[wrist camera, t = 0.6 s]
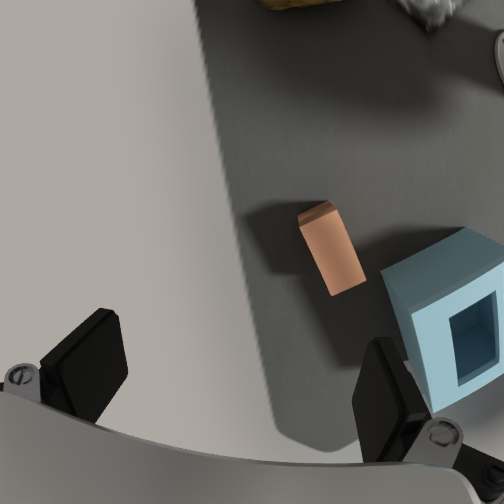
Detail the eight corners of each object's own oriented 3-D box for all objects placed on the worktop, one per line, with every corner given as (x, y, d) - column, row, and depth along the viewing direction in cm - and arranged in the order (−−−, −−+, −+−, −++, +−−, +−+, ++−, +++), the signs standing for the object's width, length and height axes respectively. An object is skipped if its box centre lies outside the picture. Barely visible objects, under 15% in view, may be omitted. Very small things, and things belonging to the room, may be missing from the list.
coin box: (465, 227, 29) (517, 252, 19) (482, 320, 32) (520, 361, 22) (380, 271, 32) (411, 314, 22) (408, 360, 35) (433, 413, 25)
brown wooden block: (328, 200, 31) (336, 209, 25) (354, 259, 32) (366, 280, 26) (297, 215, 31) (299, 227, 26) (324, 273, 33) (331, 296, 27)
